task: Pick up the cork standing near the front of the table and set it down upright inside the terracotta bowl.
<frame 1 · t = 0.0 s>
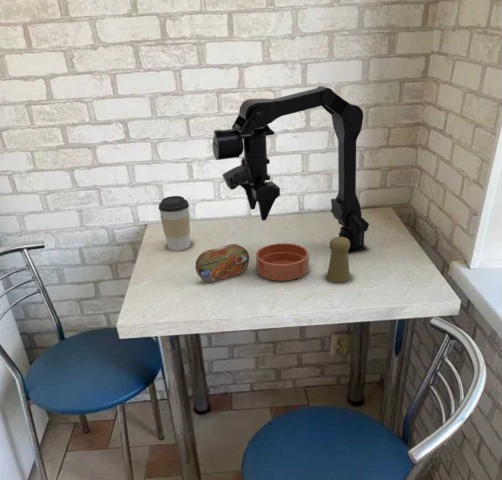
hand: (258, 214, 141), 15 cm above the table, tool pointing down, fingers open, 9 cm apart
bowl: (282, 270, 146), on the table
cork: (338, 278, 140), on the table
tin: (223, 277, 144), on the table
coffee cup: (179, 246, 164), on the table
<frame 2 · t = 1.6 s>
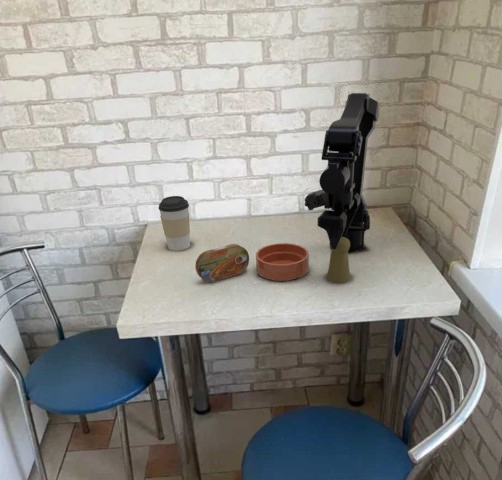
hand: (338, 241, 135), 10 cm above the table, tool pointing down, fingers open, 9 cm apart
nothing on the table moved.
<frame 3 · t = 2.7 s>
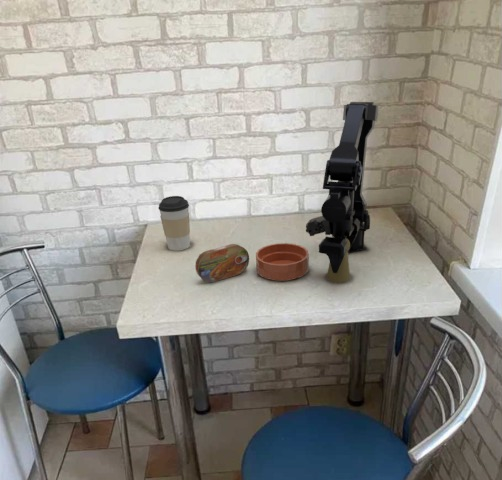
hand: (338, 266, 139), 3 cm above the table, tool pointing down, fingers closed on cork, 8 cm apart
cork: (338, 278, 140), on the table, touching gripper
everything else where it was.
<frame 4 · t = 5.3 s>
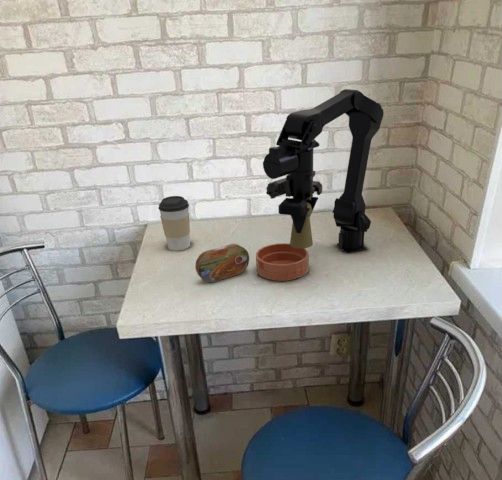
hand: (301, 229, 137), 12 cm above the table, tool pointing down, fingers closed on cork, 4 cm apart
cork: (301, 244, 139), point 8 cm above the table, touching gripper
everything else where it was.
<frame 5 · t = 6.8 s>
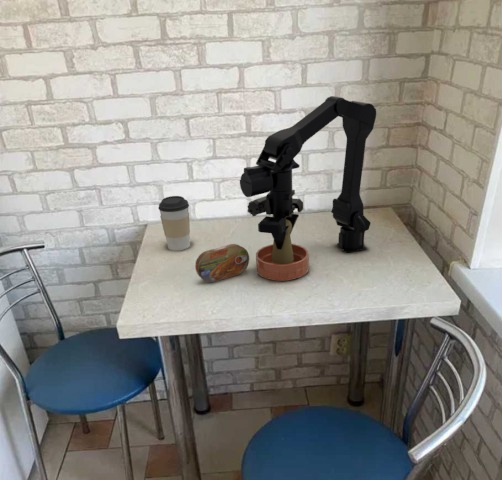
hand: (282, 245, 142), 7 cm above the table, tool pointing down, fingers closed on cork, 4 cm apart
cork: (282, 260, 144), point 3 cm above the table, touching gripper
everything else where it was.
when the fingers open (4 cm above the table, at t = 7.8 s): cork stays where it is, resting on bowl.
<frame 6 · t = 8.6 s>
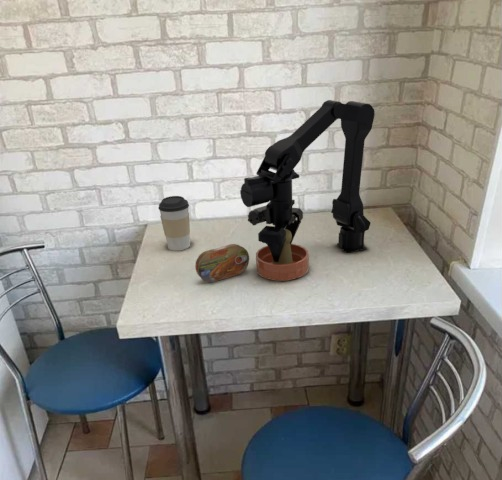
hand: (282, 254, 143), 5 cm above the table, tool pointing down, fingers open, 9 cm apart
cork: (282, 269, 145), resting on bowl
everything else where it was.
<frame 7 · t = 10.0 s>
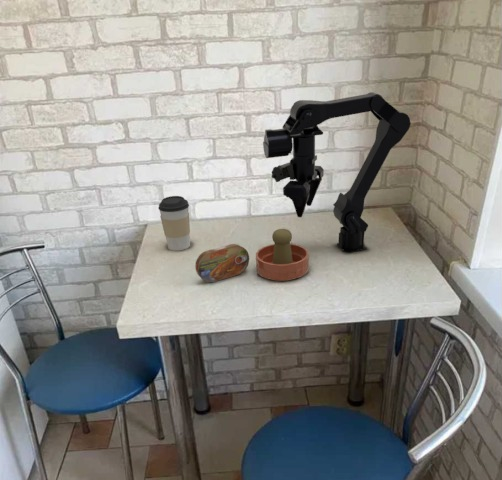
hand: (304, 211, 147), 13 cm above the table, tool pointing down, fingers open, 9 cm apart
nothing on the table moved.
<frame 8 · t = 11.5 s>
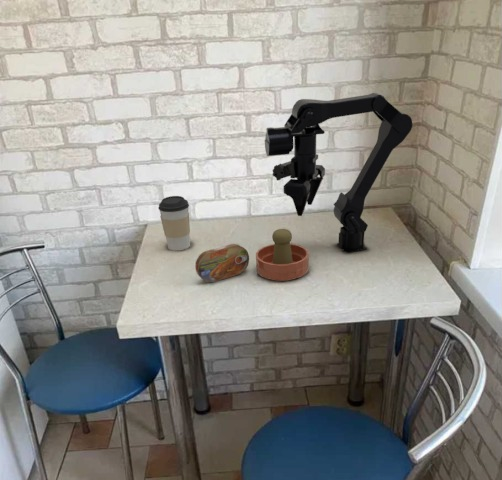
hand: (304, 210, 147), 13 cm above the table, tool pointing down, fingers open, 9 cm apart
nothing on the table moved.
at the end: cork inside the target area in the bowl (0.1 cm from its centre), point 0.4 cm above the bowl's base; cork tilted 0°; the gripper is holding nothing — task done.
